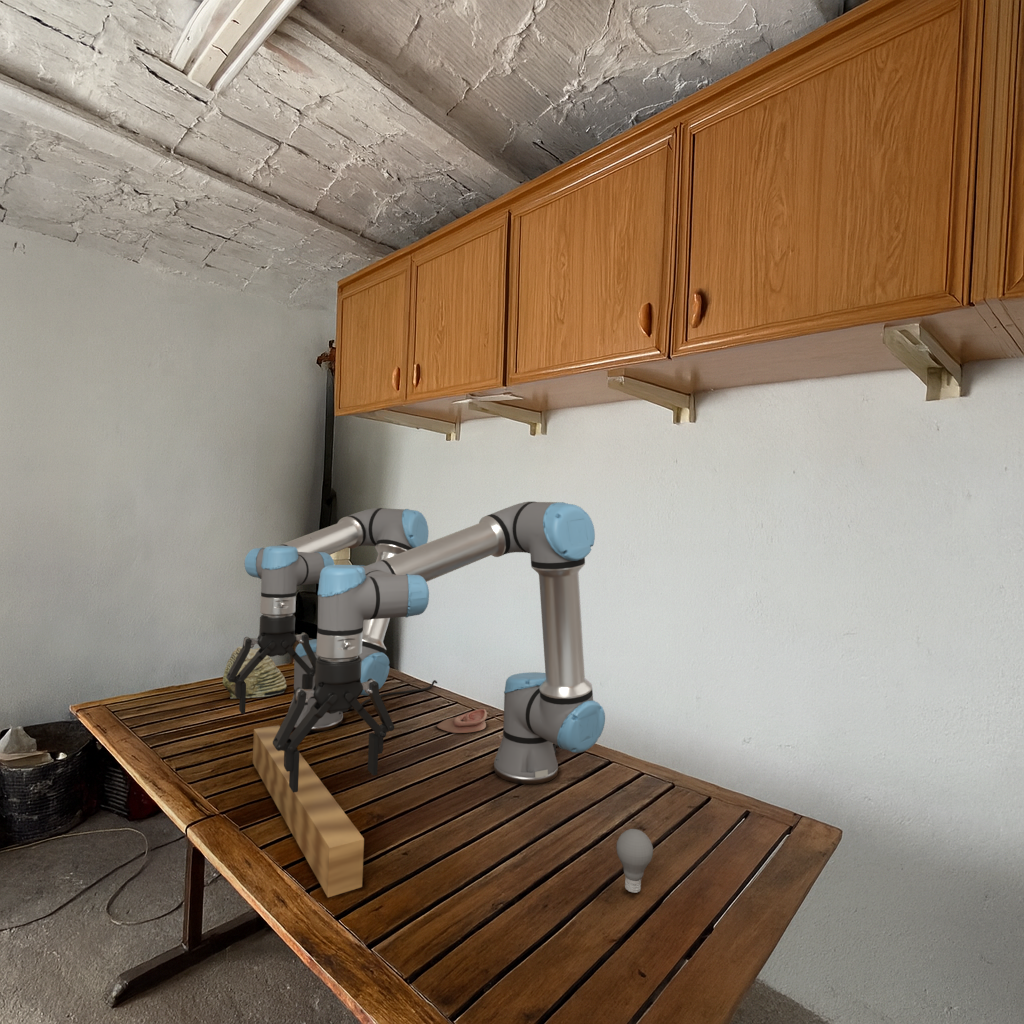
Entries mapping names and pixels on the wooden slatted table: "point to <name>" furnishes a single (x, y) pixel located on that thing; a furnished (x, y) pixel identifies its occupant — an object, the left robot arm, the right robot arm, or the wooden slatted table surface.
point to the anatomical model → (465, 722)
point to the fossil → (257, 677)
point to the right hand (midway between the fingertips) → (334, 780)
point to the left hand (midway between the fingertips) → (274, 707)
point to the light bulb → (634, 857)
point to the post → (312, 818)
